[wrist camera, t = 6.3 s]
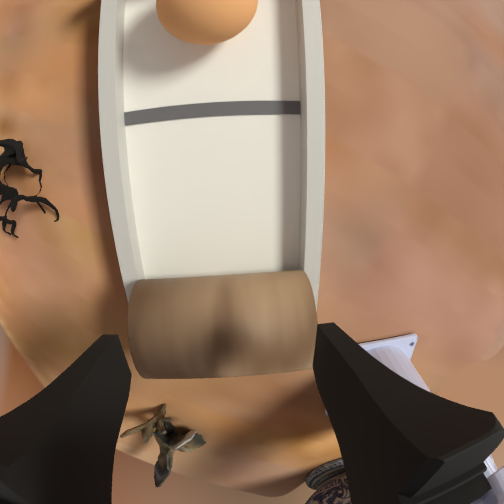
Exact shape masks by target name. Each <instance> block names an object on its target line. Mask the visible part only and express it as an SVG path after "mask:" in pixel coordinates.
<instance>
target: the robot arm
mask: <svg viewBox="0 0 504 504" xmlns="http://www.w3.org/2000/svg"><path fill="white" fill-rule="evenodd" d="M417 338H418V337H417V335H416V334H408V335H404V336H399V337H394V338H388V339H383V340H378V341H372V342H366V343H360V344H357V343H356V342H355V341H354V340H353V339H352V338H351V337H349V336H348V335H347V334H346V333H345V332H344V331H343V330H342V329H340V328H339V327H338V326H337V325H336V324H335V323H334V322H333V323H325V324H317V332H316V341H315V349H314V357H313V365H312V366H313V370H314V374H315V379H316V383H317V387H318V390H319V393H320V395H321V398H322V401H323V403H324V406H325V409H326V410H325V413H326V415H328V416H329V419H330V421H331V424H332V427H333V429H334V432H335V434H336V437H337V440H338V444H339V447H340V451H341V455H342V459H343V464H344V468H345V473H346V477H347V482H348V487H349V493H350V498H351V504H504V466H503V467H502V468H500V469H499V470H498V469H497V467H496V465H495V464H494V460H493V458H492V456H491V453H492V452H493V451H494V450H495V449H496V448H497V447H498V445H499V444H500V443H501V442H502V440H503V438H504V428H503V427H502V425H501V424H500V422H499V421H498V420H497V418H496V417H495V415H494V414H493V413H492V412H488V411H484V410H479V409H475V408H471V407H467V406H464V405H461V404H458V403H455V402H453V401H450V400H447V399H445V398H442V397H440V396H437V395H435V394H433V393H431V392H430V390H429V389H428V387H427V385H426V384H425V382H424V381H423V379H422V378H421V376H420V375H419V373H418V372H417V370H416V369H415V367H414V366H413V364H412V363H411V361H410V359H411V356H412V353H413V350H414V347H415V345H416V342H417ZM131 375H132V374H131V372H130V369H129V366H128V363H127V361H126V358H125V355H124V352H123V349H122V346H121V343H120V340H119V337H118V335H102V336H101V337H100V338H99V339H97V340H96V341H95V342H94V343H93V344H92V345H91V346H90V347H89V348H88V349H87V350H86V351H85V352H84V353H83V354H82V355H81V356H80V357H79V358H78V359H77V360H76V361H75V362H74V363H73V364H72V365H71V366H70V367H68V368H67V369H66V370H65V371H64V372H63V373H62V374H61V375H60V376H58V377H57V378H56V379H55V380H54V381H53V382H52V383H51V384H49V385H48V386H47V387H46V388H44V389H43V390H42V391H41V392H39V393H38V394H37V395H35V396H34V397H33V398H31V399H30V400H28V401H27V402H25V403H23V404H22V405H20V406H19V407H17V408H15V409H14V410H12V411H11V412H9V413H7V414H5V415H3V416H1V417H0V504H111V493H112V492H111V491H112V473H113V463H114V454H115V448H116V443H117V439H118V435H119V432H120V428H121V424H122V420H123V416H124V413H125V409H126V405H127V401H128V397H129V390H130V383H131Z"/></svg>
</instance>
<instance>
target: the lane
mask: <svg viewBox="0 0 504 504" xmlns="http://www.w3.org/2000/svg"><path fill="white" fill-rule="evenodd" d="M98 96H99V119H100V134H101V147H102V157H103V167H104V176H105V184H106V191H107V199H108V205H109V212H110V218H111V224H112V230H113V235H114V241H115V246H116V251H117V256H118V261H119V266H120V270H121V275H122V279H123V284H124V288H125V292H126V296H127V300H128V304H129V299H130V295H131V291H132V288H133V286H134V284H135V283H136V282H137V281H138V280H141V279H162V278H182V277H200V276H218V275H234V274H250V273H266V272H281V271H295V270H303V271H304V272H305V273H306V274H307V276H308V278H309V281H310V283H311V287H312V290H313V294H314V299H315V305H316V311H317V300H318V289H319V277H320V263H321V248H322V231H323V210H324V182H325V86H324V59H323V40H322V24H321V11H320V0H258V6H257V10H256V13H255V15H254V17H253V19H252V21H251V22H250V24H249V25H248V26H247V27H246V28H245V29H244V30H243V31H242V32H241V33H239V34H238V35H236V36H235V37H233V38H231V39H229V40H227V41H224V42H221V43H216V44H210V45H198V44H191V43H187V42H184V41H182V40H180V39H178V38H176V37H174V36H173V35H171V34H170V33H169V32H168V31H167V30H166V29H165V28H164V27H163V25H162V24H161V22H160V20H159V18H158V15H157V10H156V0H101V11H100V25H99V47H98Z"/></svg>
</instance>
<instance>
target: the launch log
mask: <svg viewBox="0 0 504 504" xmlns="http://www.w3.org/2000/svg"><path fill="white" fill-rule="evenodd" d="M317 324H318V323H317V312H316V305H315V299H314V294H313V290H312V287H311V283H310V281H309V278H308V276H307V274H306V273H305V272H304V271H303V270H295V271H281V272H266V273H250V274H234V275H218V276H200V277H182V278H162V279H141V280H138V281H137V282H136V283H135V284H134V286H133V288H132V291H131V295H130V299H129V306H128V338H129V345H130V351H131V355H132V359H133V362H134V365H135V367H136V369H137V371H138V373H139V374H140V376H141V377H143V378H146V379H193V378H221V377H238V376H252V375H264V374H275V373H284V372H293V371H301V370H309V369H312V368H313V366H312V365H313V357H314V349H315V341H316V332H317Z"/></svg>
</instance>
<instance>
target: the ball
mask: <svg viewBox="0 0 504 504" xmlns="http://www.w3.org/2000/svg"><path fill="white" fill-rule="evenodd" d="M257 6H258V0H156V10H157V15H158V18H159V20H160V22H161V24H162V25H163V27H164V28H165V29H166V30H167V31H168V32H169V33H170V34H171V35H173V36H174V37H176V38H178V39H180V40H182V41H184V42H187V43H191V44H198V45H210V44H216V43H221V42H224V41H227V40H229V39H231V38H233V37H235V36H236V35H238V34H239V33H241V32H242V31H243V30H244V29H245V28H246V27H247V26H248V25H249V24H250V22H251V21H252V19H253V17H254V15H255V13H256V10H257Z"/></svg>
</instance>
